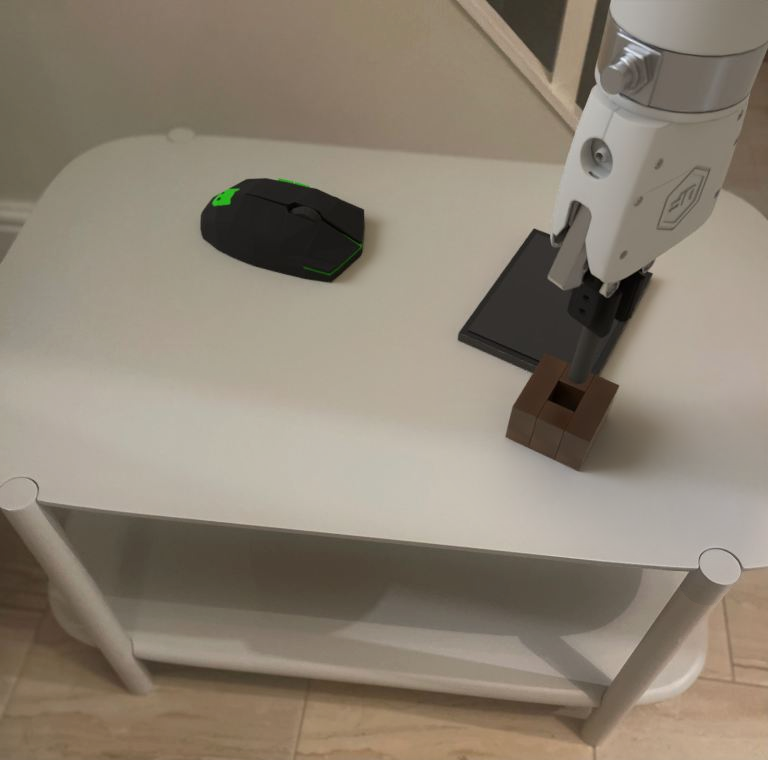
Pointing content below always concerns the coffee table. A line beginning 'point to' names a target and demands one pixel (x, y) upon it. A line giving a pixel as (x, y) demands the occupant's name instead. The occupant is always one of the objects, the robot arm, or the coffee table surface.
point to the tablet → (533, 313)
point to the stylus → (584, 356)
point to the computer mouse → (285, 228)
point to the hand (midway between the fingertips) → (598, 315)
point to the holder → (560, 412)
